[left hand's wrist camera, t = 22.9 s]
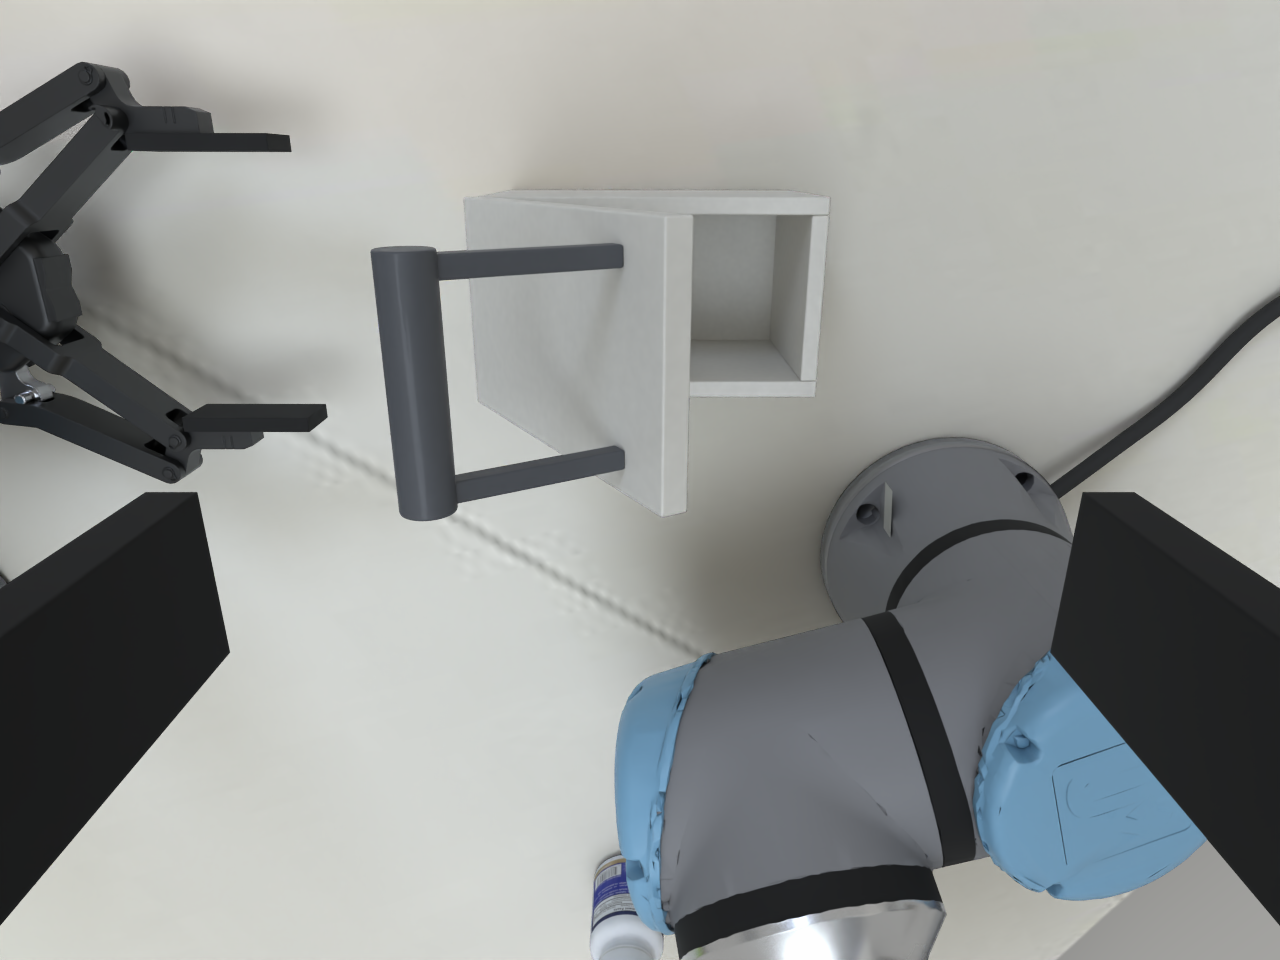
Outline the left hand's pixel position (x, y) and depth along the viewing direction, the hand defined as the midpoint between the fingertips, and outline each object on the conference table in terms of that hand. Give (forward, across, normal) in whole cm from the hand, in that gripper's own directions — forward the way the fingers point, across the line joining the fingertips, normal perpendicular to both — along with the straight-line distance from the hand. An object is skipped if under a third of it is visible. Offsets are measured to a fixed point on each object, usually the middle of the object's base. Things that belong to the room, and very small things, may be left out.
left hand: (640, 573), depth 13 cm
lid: (+20, -3, 0) cm, 20 cm away
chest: (+38, +1, 0) cm, 38 cm away
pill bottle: (+38, -1, -46) cm, 59 cm away
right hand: (+31, -17, 0) cm, 36 cm away
